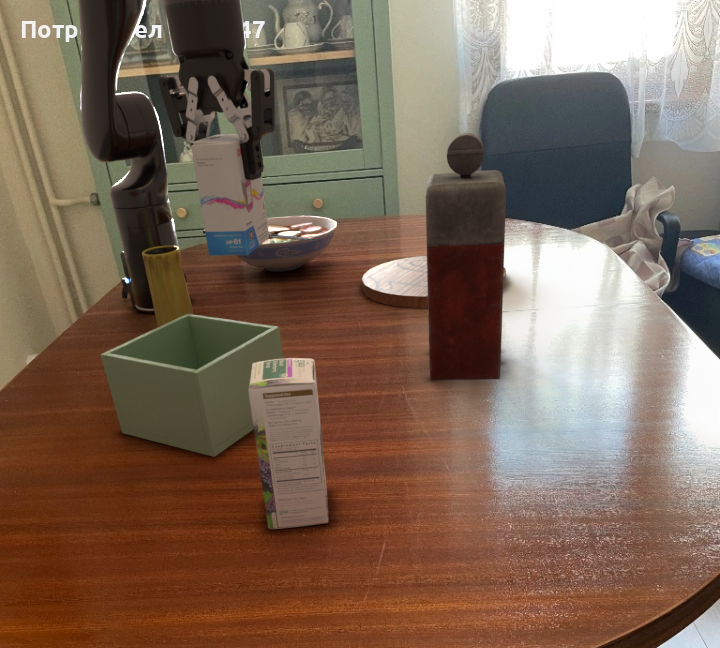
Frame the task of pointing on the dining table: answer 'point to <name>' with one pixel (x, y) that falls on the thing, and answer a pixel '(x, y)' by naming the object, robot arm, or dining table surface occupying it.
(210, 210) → the ink box
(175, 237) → the robot arm
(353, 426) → the dining table surface
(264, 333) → the waste bin
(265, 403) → the syrup box
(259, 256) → the ramen bowl
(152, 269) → the vase
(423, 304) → the trivet
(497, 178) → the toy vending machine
